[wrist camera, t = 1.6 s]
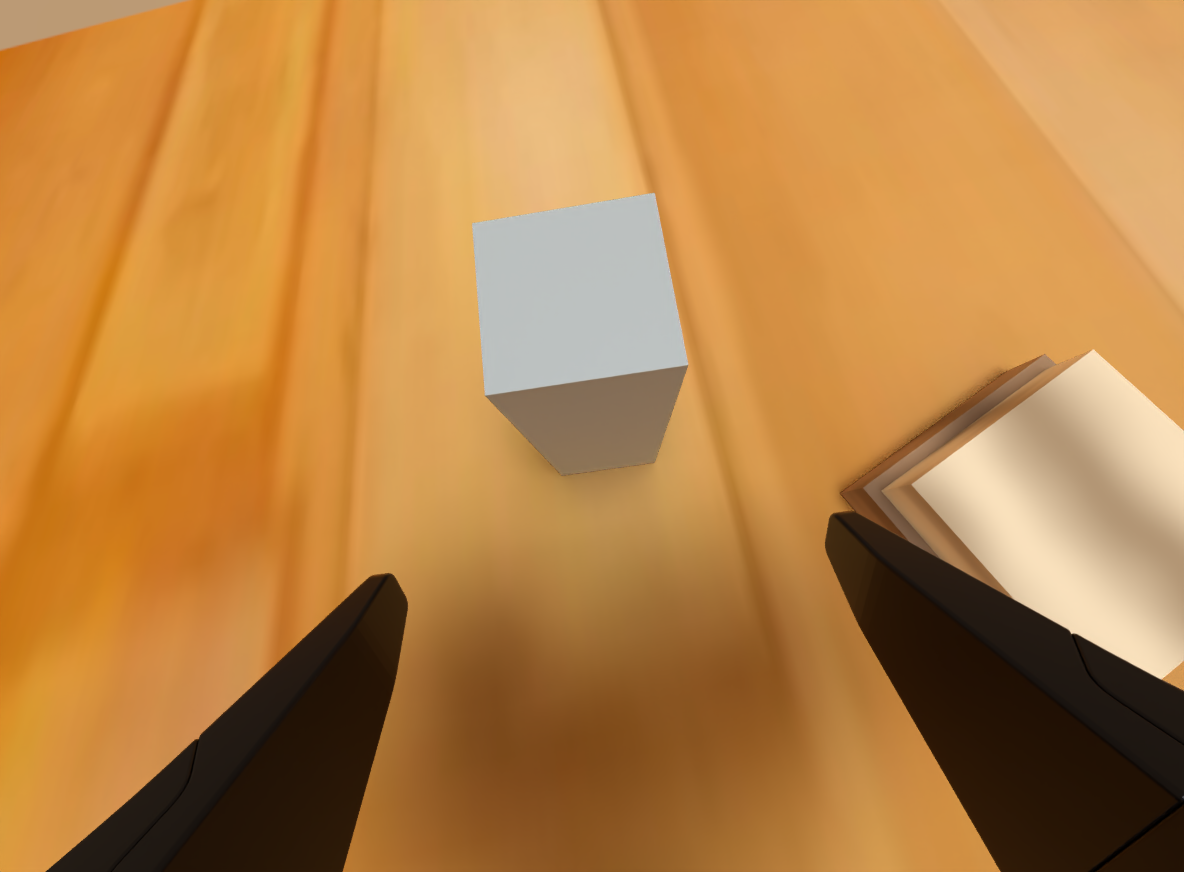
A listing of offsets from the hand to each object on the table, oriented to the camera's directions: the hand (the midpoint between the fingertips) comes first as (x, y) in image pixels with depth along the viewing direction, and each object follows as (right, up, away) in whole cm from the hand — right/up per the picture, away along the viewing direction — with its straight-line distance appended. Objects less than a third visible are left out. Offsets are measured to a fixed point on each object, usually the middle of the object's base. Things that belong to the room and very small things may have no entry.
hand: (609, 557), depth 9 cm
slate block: (0, +3, +13) cm, 13 cm away
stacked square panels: (+18, -1, +10) cm, 21 cm away
